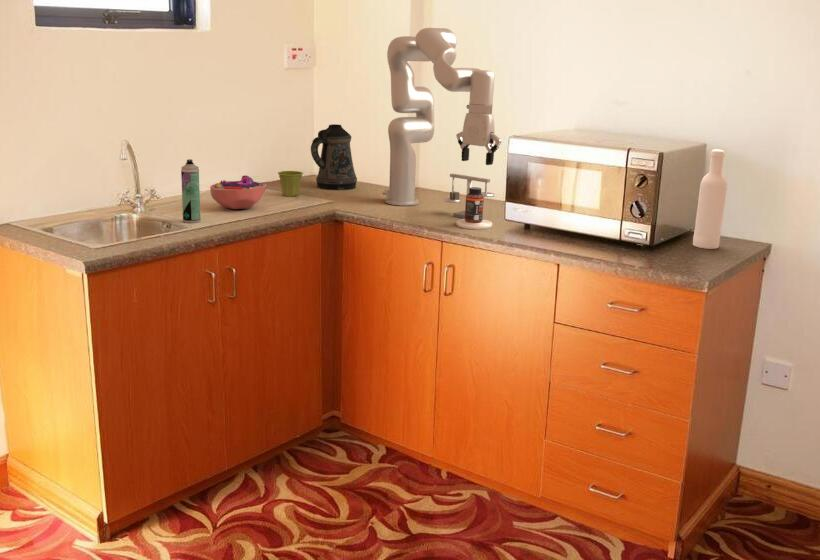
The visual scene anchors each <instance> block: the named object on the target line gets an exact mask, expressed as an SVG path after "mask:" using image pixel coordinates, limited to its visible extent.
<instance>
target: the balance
mask: <svg viewBox="0 0 820 560" xmlns="http://www.w3.org/2000/svg"><path fill="white" fill-rule="evenodd" d="M449 178H452V179H451V180H452V181H451V183H452V185H451V186H452V187H451V191H450V192H449V197H445V198H443V202H446V203H453V204H454V203H456V204H457V203H461V202H462V199H461V198H460V192H459V191H454V190H455V189H454V188H455V178H456V179H462V180H466V195H467V194H469V193H470V192H469V188H470V187H472V185H473V181H475V182H481V183H485V185H484V191H481V194H482V195H483V196H484V198H492V197H495V193H493V192H488V190H487V188H488V184H489V183H491V179H489V178H484V177H477V176H471V175H464V174H458V173H450V174H449ZM452 217H455V218H460V219H465V210H461V211H456V212H453V216H452Z"/></svg>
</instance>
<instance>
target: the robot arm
mask: <svg viewBox="0 0 820 560" xmlns="http://www.w3.org/2000/svg"><path fill="white" fill-rule="evenodd" d="M456 46H457V37H456V35H455V33H454V31H452V30H451V29H449V28H443V27H442V28H440V27H425V28H422V29H420V30H418V32H417V33H416V35H415V36H412V35H411V36H410V35H409V36H408V35H407V36H405V35H403V36H398V37H395V38H393V39H392V40H391V41H390V43H389V44H388V46H387V52H386V56H387V57H386V58H387V65H388V68H389V73H390V95H391V107H392V109H393V112H395V113H397V114H415V115H416V116H402V117H400V116H399V117H396V118H394V119H392V120H391V121H390V122H389V124H388V127H387V130H388V131H387V135H388V139H389V150H390V151H389V158H390V159H389V189H388V188H385V189H384V190H382V193H381V194H382V195H384V196H385V195H386V198H385V199H384V203H385V204H388V205H391V206H399V207H400V206H409V207H410V206H414V205H418V204H419V202H420V201H419V199H417V198H416V197H415V195H416V171H417V170H416V168H417V167H416V165H417V157H416V155H417V154H416V151H415V149H414V148H413V146H412V144H420V143H422V144H424V143H429V142H430V141H432V139H433V137H434V135H435V101H434V96H433V94H432V91H431V90H430V89H429V88H428V87H425V86H416V85H415V73H414V70H413V69H412V67H411V65H410V64H409V63H408V62H431V63H433V65H432V67H433V68H432V70H433V75H434V78H435V80H436V82H438V83H439V85H440V86H441V87H442V88H443V89H445V90H446V91H448V92H459V93H460V92H463V93H464V92H465V93H469V101H468V102H469V103H468V104H467V105H466V109H467V110H468V112H466V113H465V117H464V121H463V126H462V131H459V132H458V133H457V134H456V135H455V136H456V139H457V143H458V144H459V146H460V149H461V161H462V162H465V161H466V162H467V161H469V160H470V158H469V157H470V148H469V146H477V147H485V149H486V151H487V152H485V153H486V154H485V155H486V156H485V165H486V166H491V165H493V164H494V160H495V159H494V158H495V157H494V156H495V153H496V151H497V150H498V149H499V148H500V145H502V141H503V140H502V139H501V138H500V137H499V136H498V135H496V134H495V120H494V119H495V118H494V114H493V102H494V92H495V91H494V89H495V88H494V87H495V73H494V72H493V71H491V70H485V69H484V70H482V69H480V68H475V67H453V66H452V65H453V64H454V62H455V60H456V57H457V51H456Z"/></svg>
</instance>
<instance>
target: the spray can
mask: <svg viewBox="0 0 820 560" xmlns="http://www.w3.org/2000/svg"><path fill="white" fill-rule="evenodd" d="M193 161H194V160H193V159H191V158H190V159H186V163H185V165H183V166H181V168H180V169H181V170H180V172H181V174H180V176H181V178H180V179H181V197H182V198H181V201H182V204H181V205H182V222H183V223H185V224H195V223H200V222H201V193H200V192H201V191H200V170H199V166H197V165H196V164H195V163H194V162H193Z"/></svg>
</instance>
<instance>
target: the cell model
mask: <svg viewBox="0 0 820 560" xmlns="http://www.w3.org/2000/svg"><path fill="white" fill-rule="evenodd" d="M267 186H268V185H267V184H266V183H263V182H258V181H254V179H253V178H252V176H251V177H250V176H249V175H242V176H241V179H240V180H228V181H227V180H225V179H224V180H220V182H217V183H215V184H212V185H210V187H209V188H210V189H209V190H210V196H211V197H212V199H213V200H214V201H215V202H216V203H217V204H219V205H220V206H222V207H223V208H226V209H231V210H245V209H246V210H247V209H251V208H253V206H255V205H256V204H258V203H259V202H260V200H261V199H262V198H263V196H264V195H265V194H264V193H265V191H266V189H267Z"/></svg>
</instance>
